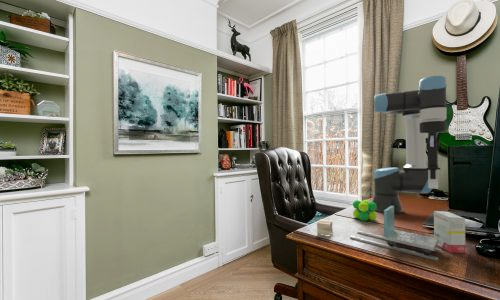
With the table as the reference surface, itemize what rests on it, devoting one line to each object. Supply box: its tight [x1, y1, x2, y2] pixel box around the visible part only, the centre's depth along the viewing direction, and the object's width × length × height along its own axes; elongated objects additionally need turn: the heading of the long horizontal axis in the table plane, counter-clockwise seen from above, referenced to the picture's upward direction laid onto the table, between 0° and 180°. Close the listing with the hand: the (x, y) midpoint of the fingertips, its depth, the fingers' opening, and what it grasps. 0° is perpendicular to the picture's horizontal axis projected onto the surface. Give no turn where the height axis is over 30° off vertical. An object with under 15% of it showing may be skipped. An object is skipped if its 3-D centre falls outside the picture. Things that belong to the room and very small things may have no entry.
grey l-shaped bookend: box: [383, 206, 438, 255], centre depth 81 cm, size 10×14×12 cm
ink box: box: [433, 210, 466, 254], centre depth 82 cm, size 9×5×12 cm, turn 173°
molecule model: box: [352, 199, 378, 222], centre depth 116 cm, size 9×9×9 cm
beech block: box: [316, 219, 333, 236], centre depth 97 cm, size 5×5×5 cm
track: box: [349, 230, 442, 262], centre depth 85 cm, size 9×27×1 cm, turn 45°
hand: (433, 188), depth 83 cm, fingers closed
